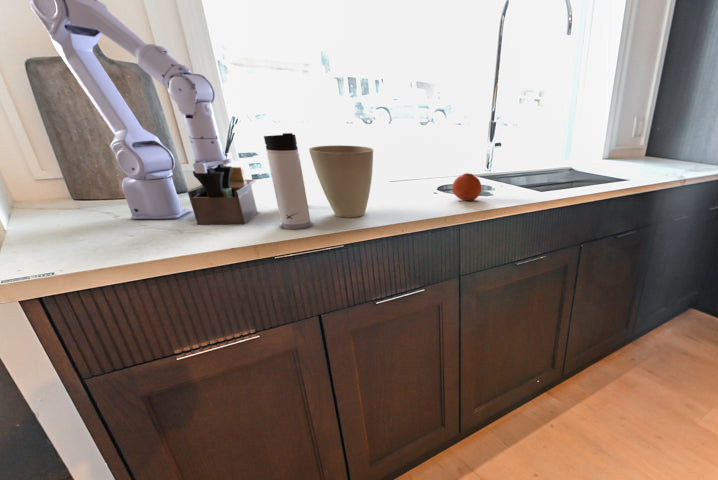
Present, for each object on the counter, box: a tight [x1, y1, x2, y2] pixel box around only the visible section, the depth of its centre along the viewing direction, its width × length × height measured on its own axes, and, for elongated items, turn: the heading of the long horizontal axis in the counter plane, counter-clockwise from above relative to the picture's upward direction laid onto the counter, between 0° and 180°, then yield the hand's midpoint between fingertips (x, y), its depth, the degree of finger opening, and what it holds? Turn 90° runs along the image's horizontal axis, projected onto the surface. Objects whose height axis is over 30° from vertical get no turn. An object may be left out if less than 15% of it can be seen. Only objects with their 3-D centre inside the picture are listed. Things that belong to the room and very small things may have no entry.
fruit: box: [451, 172, 482, 201], centre depth 131 cm, size 9×9×8 cm
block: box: [207, 188, 233, 197], centre depth 100 cm, size 4×4×4 cm
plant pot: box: [308, 144, 374, 218], centre depth 108 cm, size 15×15×16 cm
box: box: [187, 183, 258, 225], centre depth 102 cm, size 10×11×7 cm
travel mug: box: [263, 132, 312, 230], centre depth 95 cm, size 6×7×20 cm
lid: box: [230, 166, 256, 190], centre depth 106 cm, size 8×11×4 cm
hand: (221, 201), depth 100 cm, fingers closed on block, 4 cm apart
